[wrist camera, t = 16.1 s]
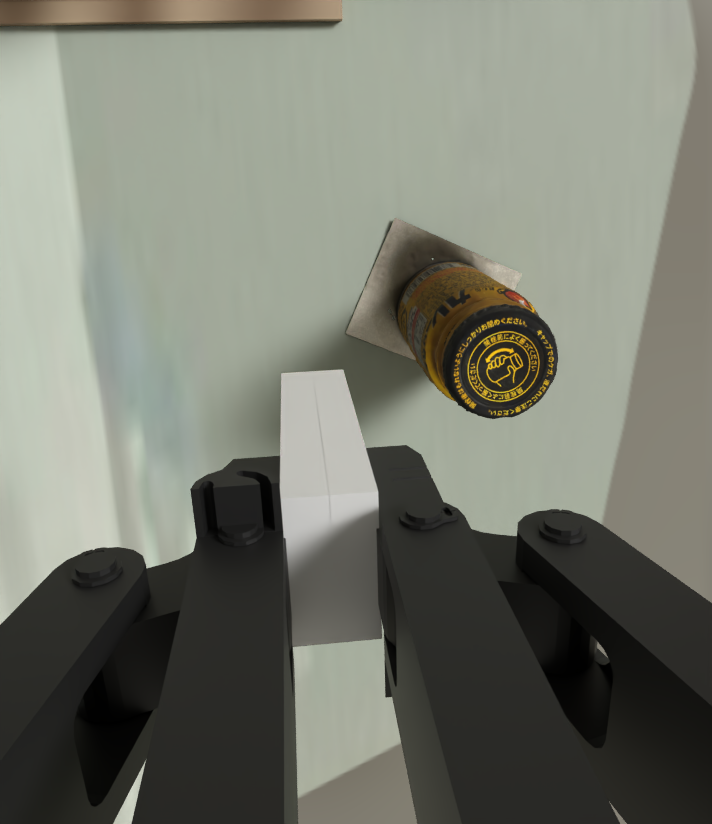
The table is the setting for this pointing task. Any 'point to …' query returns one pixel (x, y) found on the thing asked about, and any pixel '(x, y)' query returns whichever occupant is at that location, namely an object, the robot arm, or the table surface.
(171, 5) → the framed board
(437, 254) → the condiment
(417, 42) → the table surface
